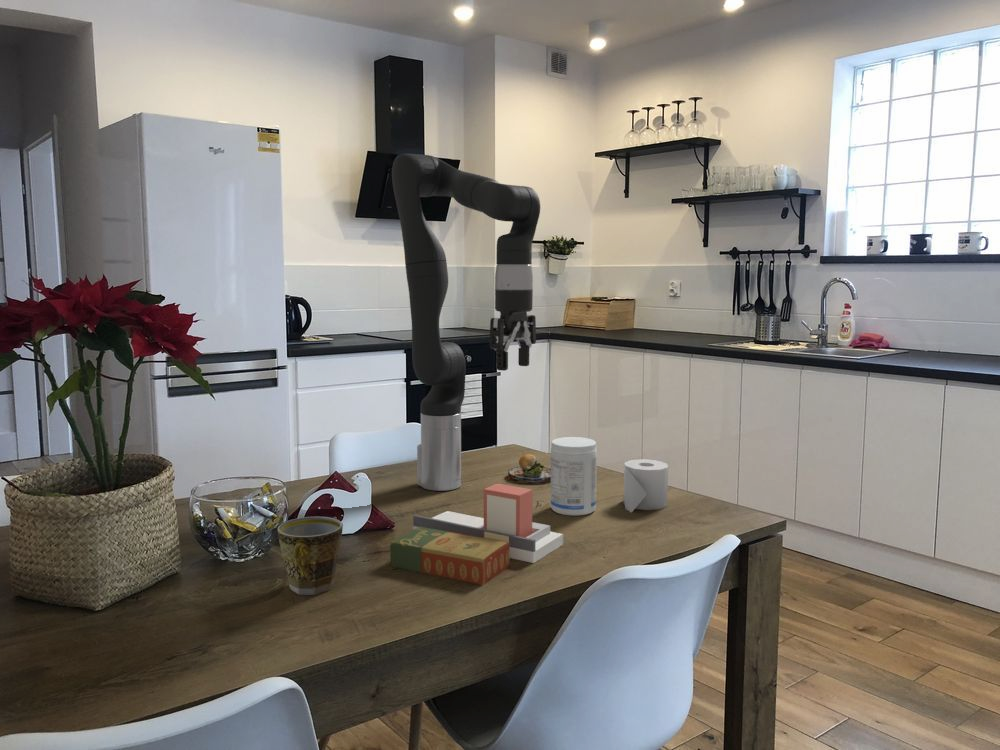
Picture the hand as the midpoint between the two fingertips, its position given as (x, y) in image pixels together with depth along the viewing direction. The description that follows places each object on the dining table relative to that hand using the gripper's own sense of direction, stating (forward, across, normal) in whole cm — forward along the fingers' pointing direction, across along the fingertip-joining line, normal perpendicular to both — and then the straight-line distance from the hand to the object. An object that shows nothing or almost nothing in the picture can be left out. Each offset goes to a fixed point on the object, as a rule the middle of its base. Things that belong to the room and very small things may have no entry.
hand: (513, 368), depth 163 cm
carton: (+31, -32, -6) cm, 45 cm away
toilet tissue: (+30, +19, -21) cm, 42 cm away
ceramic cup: (+30, -52, +6) cm, 60 cm away
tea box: (+28, -19, -10) cm, 36 cm away
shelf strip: (+30, -18, -5) cm, 35 cm away
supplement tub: (+30, +8, -10) cm, 33 cm away
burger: (+31, +26, +10) cm, 41 cm away
